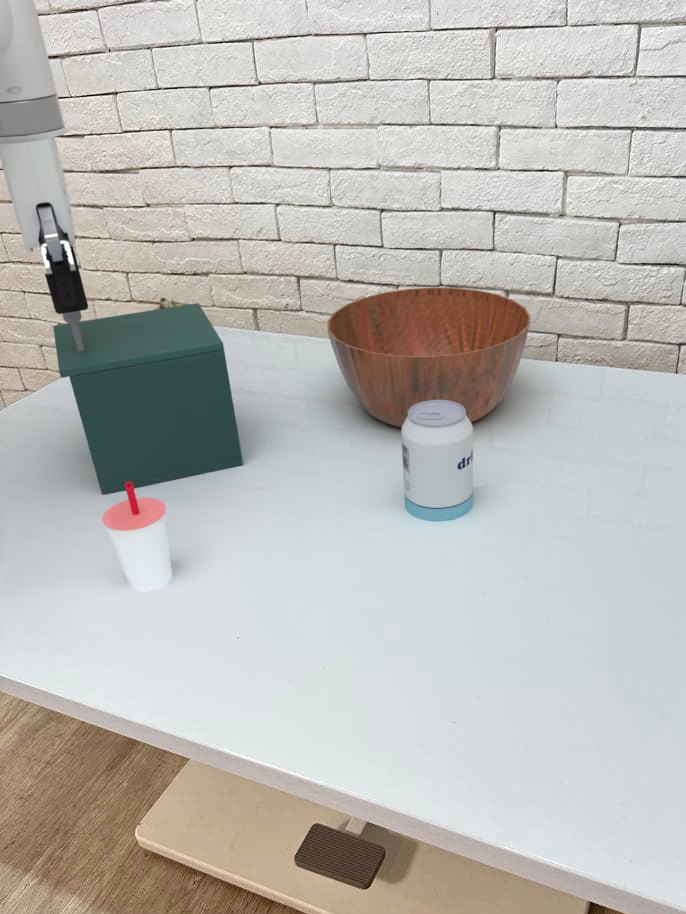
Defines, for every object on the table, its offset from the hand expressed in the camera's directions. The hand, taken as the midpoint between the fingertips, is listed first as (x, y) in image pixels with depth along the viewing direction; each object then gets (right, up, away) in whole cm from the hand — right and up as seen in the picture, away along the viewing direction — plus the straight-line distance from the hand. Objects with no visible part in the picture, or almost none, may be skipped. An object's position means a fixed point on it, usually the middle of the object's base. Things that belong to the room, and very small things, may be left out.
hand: (69, 297), depth 90 cm
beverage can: (+39, -24, -3) cm, 46 cm away
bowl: (+39, -8, +21) cm, 45 cm away
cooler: (+7, -15, +13) cm, 21 cm away
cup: (+13, -31, -12) cm, 35 cm away
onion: (0, +4, +43) cm, 43 cm away
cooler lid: (+6, -4, +5) cm, 8 cm away
